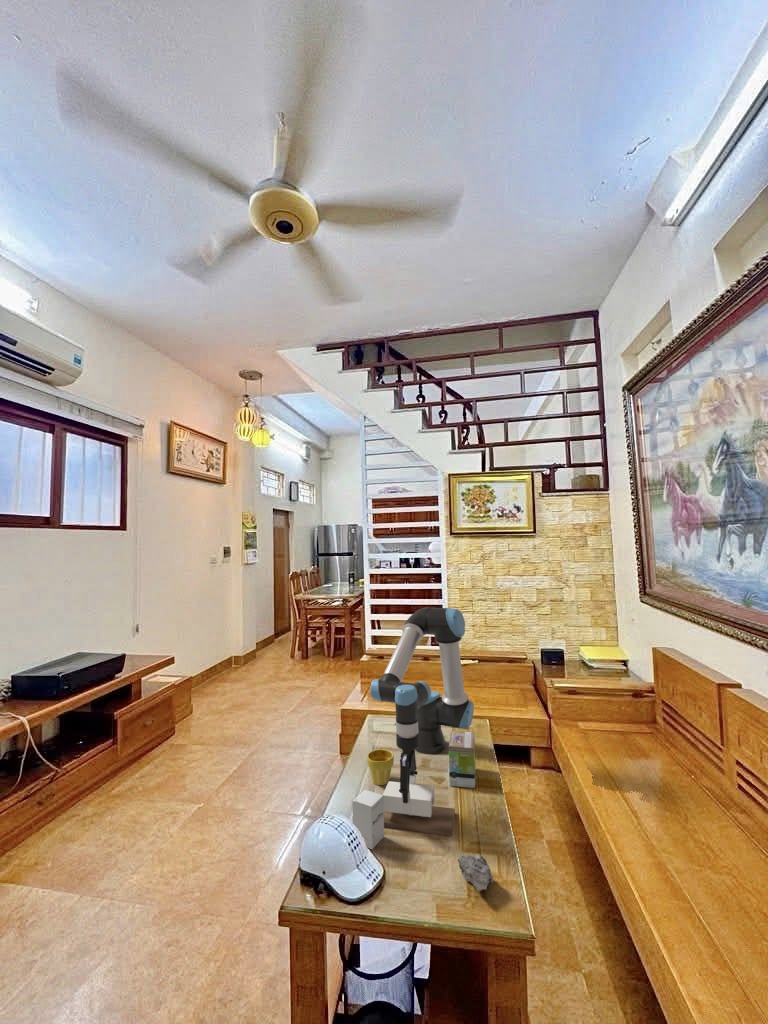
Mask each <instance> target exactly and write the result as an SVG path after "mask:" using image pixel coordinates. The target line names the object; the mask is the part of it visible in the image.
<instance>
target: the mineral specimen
mask: <svg viewBox="0 0 768 1024" xmlns="http://www.w3.org/2000/svg"><path fill="white" fill-rule="evenodd" d="M457 862H458V864H459V865H458V867H459V869H460V870H461V875H462V877H463V878H464V879H465V882H466V883H471V884H472V885H473V887H474V888H475V889H476V891H477V892H478V893H479V892H481V891H484V890H485V891H486V890H487V888H488V887H489V886H490V885H491V884H492V885H493V884H494V876H493V874H492V872H491V867H490V866H489V864H488V862H487V860H486V859H485V858H484V856H483V855H482V854H480V853H479V854H473V855H468V854H467V855H461V856H460V857H458V858H457Z"/></svg>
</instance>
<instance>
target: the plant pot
mask: <svg viewBox="0 0 768 1024" xmlns="http://www.w3.org/2000/svg"><path fill="white" fill-rule="evenodd" d="M394 760H395V759H394V753H393V752H392V751H391V750H388V749H383V748H379V749H373V750H371V751H369V752H368V753H367V755H366V761H367V763H366V765H367V767H368V768H369V772H370V776H371V780H372V783H373V784H374V785H376V786H385V785H387V784H388V782H389V781H390V780H391V779H390V778H391V773H392V768H393V765H394Z"/></svg>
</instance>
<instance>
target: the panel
mask: <svg viewBox="0 0 768 1024" xmlns="http://www.w3.org/2000/svg"><path fill="white" fill-rule="evenodd" d="M399 790H400V781H399V782H398V781H393V780H392V781H390V780H389V782H388V783H387V784H386V787H385V789H384V790H383V793H382V795H383V803H384V811H385V812H393V813H401V814H409V815H417V816H425V817H431V815H432V806H435V801H436V799H435V798H436V797H435V785H429V784H427V785H426V784H419V783H418V784H417V783H416V784H410V783H409V791H410V807H411V812H410V813H406V812H402V793H400V792H399Z"/></svg>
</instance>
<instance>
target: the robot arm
mask: <svg viewBox="0 0 768 1024" xmlns="http://www.w3.org/2000/svg"><path fill="white" fill-rule="evenodd" d="M465 633H466V622H465V617H464V614H463V612H462V611H461V610H460V609H458V608H452V607H429V606H427V607H423V608H420V609H418V610H416V611H415V612H413V613H412V614H411V615H410V616H409V617H408V618H407V619H406V621H405V622H404V624H403V627H402V634H401V636H400V638H399V640H398V642H397V644H396V647H395V648H394V651H393V653H392V655H391V657H390V660H389V662H388V663H387V666H386V668H385V670H384V672H383V674H382V676H381V678H374V679H373V680H372V681H371V684H370V687H369V693H370V694H369V695H370V697H371V698H372V699H373V700H374V701H378V702H382V703H383V702H385V703H393V704H394V705H395V722H394V725H393V726H395V729H396V730H395V731H396V735H395V737H396V747H397V748H398V749H400V750H402V752H400V760H399V765H400V768H399V771H400V772H399V773H400V774H399V776H400V777H399V782H400V790H399V792H400V793H402V812H406V813H410V812H411V807H410V791H409V783H410V784H417V782H416V776H418V770H417V760H416V759H417V758H416V751H417V752H419V753H422V754H437V753H440V752H442V751H445V749H446V747H447V745H446V739H445V736H444V732H443V730H442V726H444V727H450V728H456V729H459V730H461V729H463V730H468V729H469V728H470V727H471V725H472V723H473V718H474V711H475V706H474V702H473V701H472V700H469V696H468V695H469V694H467V692H465V688H464V679H463V677H464V676H463V668H462V662H461V661H462V660H461V651H460V644H459V643H460V642H461V641H462V639H463V637H464V636H465ZM426 635H430V636H431V635H433V636H434V642H436V643H437V644H438V647H439V657H440V664H441V671H442V672H441V673H442V681H443V689H444V693H443V694H442V696H441V694H440V692H438V691H435V690H431V687H430V685H429V684H428V683H427V682H425V681H422V680H420V681H416V682H414V683H411V682H404V681H403V678H404V676H405V674H406V671H407V670H408V667H409V665H410V662H411V661H412V657H413V655H414V653H415V650H416V648H417V646H418V644H419V641H421V640H422V639H423V638H424V637H425V636H426Z"/></svg>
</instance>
